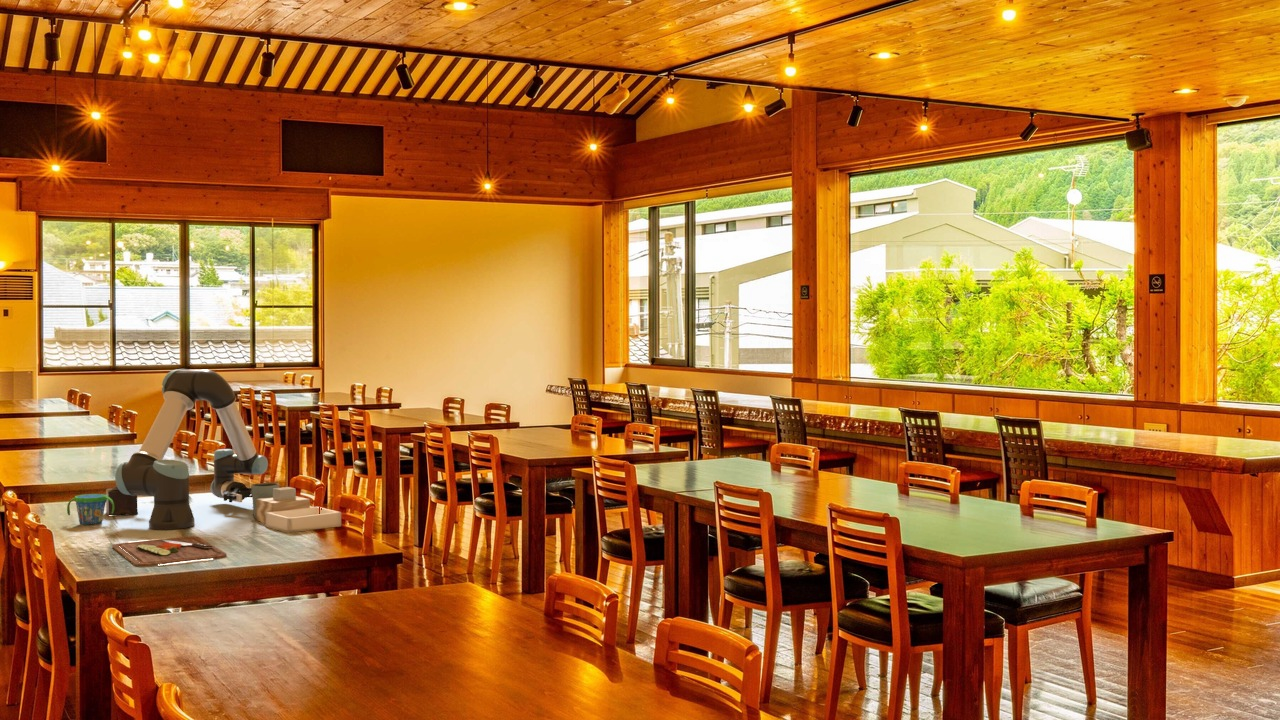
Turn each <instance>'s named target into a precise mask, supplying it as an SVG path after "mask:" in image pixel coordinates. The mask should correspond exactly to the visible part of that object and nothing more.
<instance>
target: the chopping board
mask: <svg viewBox="0 0 1280 720" xmlns="http://www.w3.org/2000/svg"><path fill="white" fill-rule="evenodd" d="M119 546H120V547H121V548H122V549H121V548H120V547H119ZM113 548H114V549H115V550H114V549H113ZM112 549H113V550H114V551H116V550H117V551H118V552H119V553H120V554H119V553H118V552H117V551H116V552H117V553H118V554H119V555H121V554H122V555H123V556H124V557H126V558H127V559H128V560H129V561H131V562H132V563H133V564H134V565H136V566H135V567H138V566H147V567H152V566H151V565H157V567H158V566H161V567H166V566H165V565H170V566H176V565H177V566H178V565H184V564H185V565H186V564H194V563H203V562H212V561H214V560H217V559H218V560H219V559H224V558H226V557H227V553H226V552H224V551H223V550H221V549H220V548H218V547H216V546H215V545H212V543H210V542H207V541H206V540H204V539H202V538H201V537H199V536H194V535H193V536H190V535H189V536H182V537H181V536H179V537H178V536H177V537H167V538H166V537H165V538H157V539H145V540H144V539H143V540H137V541H136V540H135V541H127V542H121V543H119V542H118V543H114V544H112ZM123 549H124V550H125V551H126V552H128V553H129V554H130V555H132V556H133V557H134V558H135V559H137V560H135V559H134V558H133V557H132V556H130V555H129V554H128V553H126V552H125V551H124V550H123ZM122 555H121V556H122ZM123 556H122V557H123ZM124 557H123V558H124ZM126 558H125V559H126ZM127 559H126V560H127ZM128 560H127V561H128ZM129 561H128V562H129ZM131 562H130V563H131ZM139 562H140V563H139ZM132 563H131V564H132ZM133 564H132V565H133ZM159 564H160V565H159ZM134 565H133V566H134ZM163 565H164V566H163Z"/></svg>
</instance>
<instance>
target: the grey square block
mask: <svg viewBox="0 0 1280 720" xmlns="http://www.w3.org/2000/svg"><path fill="white" fill-rule="evenodd" d="M296 491H297V490H296V487H295V488H294V487H290V486H287V487H286V486H283V487H279V488H273V499H274V500H278V501H287V500H296V496H297V494H296V493H297V492H296Z"/></svg>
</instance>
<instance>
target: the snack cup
mask: <svg viewBox="0 0 1280 720" xmlns="http://www.w3.org/2000/svg"><path fill="white" fill-rule="evenodd" d="M107 499H109V501H110V502H111V504H112V514H113V512H114V502H113V500H112V499H111V498H110V497H107V496H106V494H102V493H90V494H89V493H87V494H86V493H85V494H80V495H75V496H74V497H73V498H71V499H70V500H69V501H68V503H67V506H66V512H67V516H70V515H71V509H70V505H71V503H72V502H73V501H74V502H75V504H76V510H77V516H78V522H79V524H80V525H83V526H87V525H88V526H91V525H100V524H102V523H103V519H104V513H105V512H104V511H105V507H106V500H107ZM99 523H100V524H99Z"/></svg>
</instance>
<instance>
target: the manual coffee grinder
mask: <svg viewBox="0 0 1280 720" xmlns="http://www.w3.org/2000/svg"><path fill="white" fill-rule="evenodd" d="M105 495H106V496H107V497H110V498H111V499H112V500H113V502H114V512H113V514H112V504H111V502H110V501H109V499H107V500H106V504H105V507H106V508H105V511H106V512H105V513H106V515H107V514H108V515H121V516H127V515H126V514H131V515H138V514H139V512H138V495H136V496H132V495H126V494H123V493H122V492H120V490H119V489H118V487H117V485H116V484H115V486H114V485H113V487H112V488H111V487H110V488H106V489H105ZM108 515H107V516H108Z"/></svg>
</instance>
